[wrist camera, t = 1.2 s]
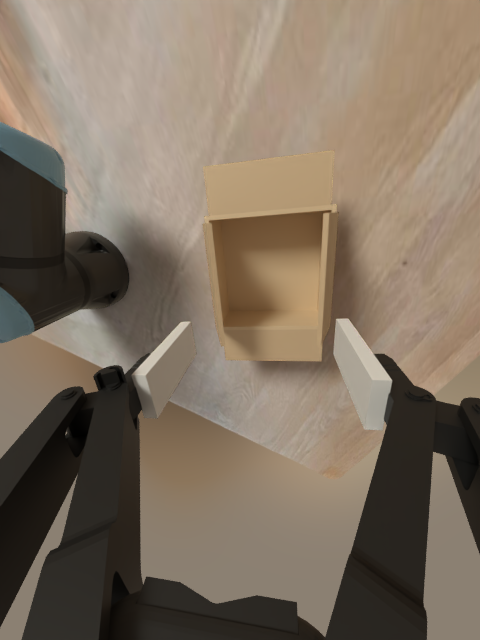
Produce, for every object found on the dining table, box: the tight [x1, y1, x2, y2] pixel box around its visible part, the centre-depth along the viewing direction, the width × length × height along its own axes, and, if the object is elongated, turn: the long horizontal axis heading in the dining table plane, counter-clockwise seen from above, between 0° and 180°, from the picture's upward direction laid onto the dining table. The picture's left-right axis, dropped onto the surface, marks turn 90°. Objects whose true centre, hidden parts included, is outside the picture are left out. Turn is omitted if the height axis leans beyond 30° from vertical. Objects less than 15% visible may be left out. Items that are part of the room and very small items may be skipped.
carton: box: [203, 150, 337, 361], centre depth 39 cm, size 18×30×8 cm, turn 4°
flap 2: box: [317, 212, 339, 347], centre depth 31 cm, size 1×16×7 cm, turn 5°
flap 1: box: [203, 223, 225, 346], centre depth 33 cm, size 1×16×7 cm, turn 5°
